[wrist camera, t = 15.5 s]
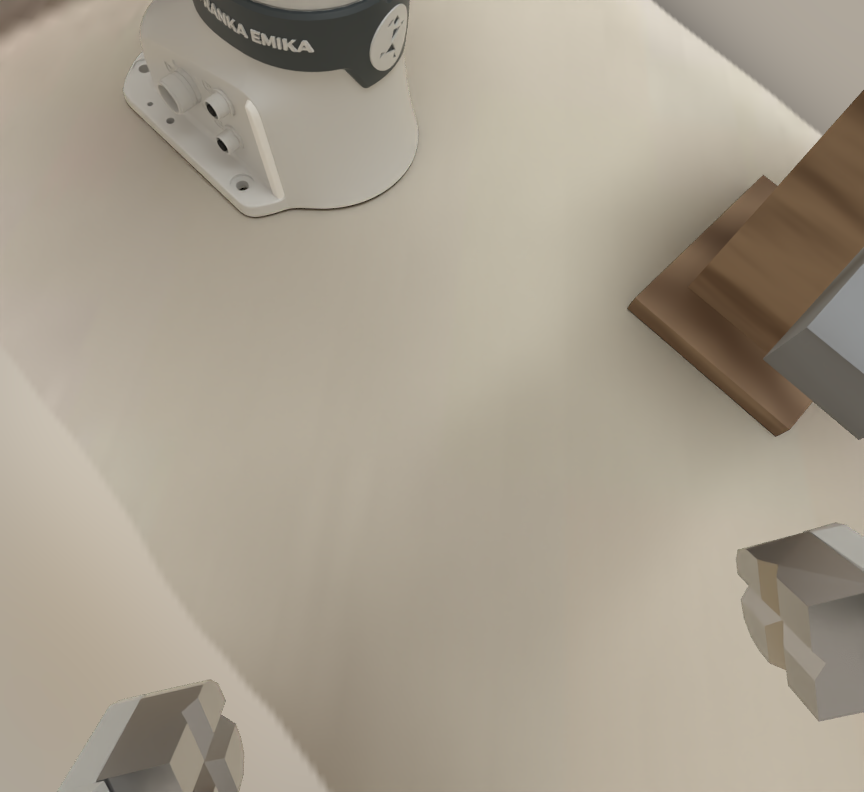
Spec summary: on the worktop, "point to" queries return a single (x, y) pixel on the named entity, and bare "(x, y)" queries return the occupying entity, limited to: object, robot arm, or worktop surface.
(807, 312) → the beech block
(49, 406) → the worktop surface
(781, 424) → the walnut stand
